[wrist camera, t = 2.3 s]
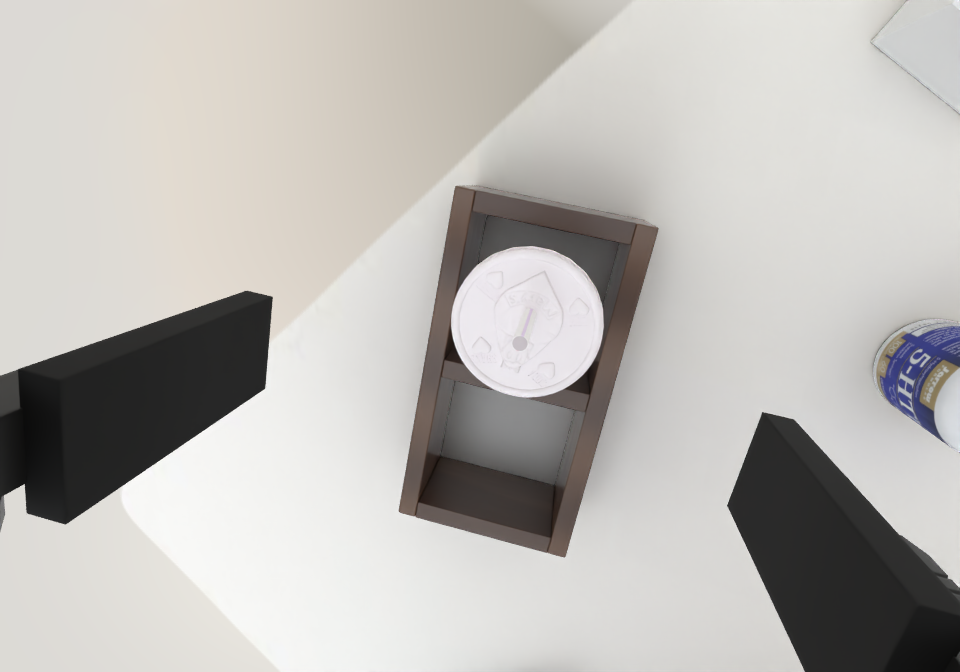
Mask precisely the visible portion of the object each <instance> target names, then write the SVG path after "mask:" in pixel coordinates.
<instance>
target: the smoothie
mask: <svg viewBox="0 0 960 672" xmlns="http://www.w3.org/2000/svg"><path fill="white" fill-rule="evenodd" d="M603 329H604V323H603V307H602V303H601V300H600V297H599V294H598V291H597V289H596V287H595V286H594V284H593V282H592V281H591V279H590V278H589V276H588V275H587V273H586V272H585V271H584V270H583V269H581V268H580V267H579V266H578V265H577V264H576V263H575V262H574V261H572V260H571V259H570V258H568V257H566V256H564V255H561V254H559V253H557V252H555V251H553V250H550V249H545V248H540V247H535V246H526V247H512V248H509V249H506V250H503V251H500V252H497V253H495V254H492V255H491V256H489V257H488V258H487V259H485V260H484V261H482V262H481V263H479V264H478V265H477V266H476V267H475V268H474V269H473V270H472V271H471V273H470V274H469V275H468V276H467V277H466V279H465V280H464V282H463V284H462V285H461V287H460V289H459V291H458V293H457V295H456V298H455V301H454V304H453V308H452V315H451V330H452V336H453V340H454V344H455V347H456V350H457V352H458V354H459V356H460V358H461V359H462V361H463V363H464V364H465V366H466V367H467V368H468V369H469V371H470V372H471V373H472V374H473V375H474V376H475V377H476V378H477V379H479V380H480V381H481V382H483V383H484V384H486V385H487V386H489V387H490V388H492V389H494V390H496V391H499V392H501V393H504V394H508V395H512V396H517V397H540V396H546V395H549V394H553V393H556V392H558V391H560V390H563V389H565V388H566V387H568V386H570V385H571V384H573V383H574V382H575V381H577V380H578V379H579V378H580V377H581V376H582V375H583V374H584V373H585V372H586V371H587V370H588V368H589V367H590V366H591V364H592V363H593V361H594V359H595V357H596V355H597V353H598V351H599V348H600V345H601V341H602V335H603Z"/></svg>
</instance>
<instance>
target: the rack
mask: <svg viewBox="0 0 960 672" xmlns="http://www.w3.org/2000/svg"><path fill="white" fill-rule="evenodd" d="M487 215H491V216H496V217H501V218H505V219H510V220H515V221H519V222H524V223H529V224H534V225H538V226H543V227H548V228H553V229H557V230H562V231H567V232H571V233H576V234H581V235H586V236H590V237H595V238H600V239H605V240H609V241H614V242H619V246H618V249H617V253H616V257H615V261H614V264H613V268H612V272H611V276H610V279H609V283H608V287H607V291H606V295H605V298H604V302H603V306H602V307H603V323H604V329H603V335H602V341H601V345H600V348H599V351H598V353H597V355H596V357H595V359H594V361H593V363H592V364H591V366H590V367H589V368H588V370H587V371H586V372H585V373H584V374H583V375H582V376H581V377H580V378H579V379H578V380H577V381H575V382H574V383H573V384H571V385H570V386H568V387H566V388H565V389H563V390H560V391H558V392H556V393H553V394H549V395H546V396H540V397H524V398H528V399H532V400H537V401H541V402H545V403H549V404H553V405H557V406H561V407H565V408H569V409H573V410H575V411H574V415H573V419H572V423H571V426H570V430H569V434H568V438H567V441H566V445H565V449H564V453H563V457H562V460H561V464H560V468H559V472H558V475H557V479H556V483H555V487H554V485H550V484H546V483H542V482H538V481H534V480H531V479H527V478H523V477H519V476H515V475H511V474H507V473H504V472H500V471H496V470H492V469H488V468H484V467H480V466H477V465H473V464H469V463H465V462H461V461H457V460H453V459H450V458H446V457H442V456H441V450H442V445H443V440H444V435H445V430H446V425H447V419H448V414H449V409H450V404H451V399H452V394H453V388H454V383H455V381H459V382H463V383H467V384H471V385H475V386H479V387H483V388H487V389H491V390H494V389H492V388H490V387H489V386H487V385H486V384H484V383H483V382H481V381H480V380H479V379H477V378H476V377H475V376H474V375H473V374H472V373H471V372H470V371H469V369H468V368H467V367H466V366H465V364H464V363H463V361H462V359H461V358H460V356H459V354H458V352H457V350H456V347H455V344H454V340H453V336H452V330H451V315H452V308H453V304H454V301H455V298H456V295H457V293H458V291H459V289H460V287H461V285H462V284H463V282H464V280H465V279H466V277H467V276H468V275H469V274H470V273H471V271H472V270H473V269H474V268H475V267H476V266H477V264H478V259H479V254H480V249H481V243H482V238H483V233H484V228H485V223H486V217H487ZM657 233H658V228H657V227H656V226H654V225H652V224H650V223H648V222H646V221H644V220H641V219H636V218H631V217H626V216H622V215H617V214H612V213H607V212H602V211H598V210H593V209H588V208H583V207H578V206H573V205H568V204H564V203H559V202H554V201H549V200H544V199H539V198H535V197H530V196H525V195H520V194H515V193H510V192H505V191H501V190H496V189H490V188H486V187H481V186H456V187H455V190H454V196H453V202H452V207H451V213H450V219H449V225H448V230H447V236H446V242H445V248H444V253H443V259H442V265H441V271H440V276H439V282H438V288H437V294H436V299H435V305H434V311H433V317H432V322H431V328H430V334H429V340H428V345H427V351H426V357H425V363H424V368H423V374H422V380H421V386H420V391H419V397H418V403H417V409H416V414H415V420H414V426H413V431H412V437H411V443H410V449H409V454H408V460H407V466H406V472H405V477H404V483H403V489H402V495H401V500H400V506H399V512H400V513H403V514H407V515H411V516H415V515H416V517H417V518H421V519H424V520H428V521H432V522H435V523H439V524H443V525H446V526H450V527H454V528H457V529H461V530H465V531H469V532H472V533H476V534H480V535H483V536H487V537H491V538H494V539H498V540H502V541H505V542H509V543H513V544H516V545H520V546H524V547H527V548H531V549H535V550H538V551H542V552H546V553H547V552H548V553H550V554H553V555H557V556H561V557H566V553H567V550H568V546H569V543H570V539H571V535H572V532H573V528H574V525H575V521H576V518H577V514H578V511H579V507H580V504H581V500H582V497H583V493H584V490H585V486H586V483H587V479H588V476H589V472H590V469H591V465H592V462H593V458H594V454H595V451H596V447H597V444H598V440H599V437H600V433H601V430H602V426H603V423H604V419H605V416H606V412H607V409H608V405H609V402H610V398H611V395H612V391H613V388H614V384H615V381H616V377H617V373H618V370H619V366H620V363H621V359H622V356H623V352H624V349H625V345H626V342H627V338H628V335H629V331H630V328H631V324H632V321H633V317H634V314H635V310H636V307H637V303H638V300H639V296H640V292H641V289H642V285H643V282H644V278H645V275H646V271H647V268H648V264H649V261H650V257H651V254H652V250H653V247H654V243H655V240H656V236H657ZM440 456H441V457H440Z"/></svg>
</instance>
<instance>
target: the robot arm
mask: <svg viewBox="0 0 960 672" xmlns="http://www.w3.org/2000/svg"><path fill="white" fill-rule="evenodd" d="M272 299H273V297H271V296H267V295H263V294H258V293H254V292H250V291H244V292H242V293H239V294H236V295H233V296H230V297H227V298H224V299H221V300H218V301H215V302H212V303H209V304H207V305H204V306H201V307H198V308H195V309H192V310H189V311H186V312H183V313H180V314H178V315H175V316H172V317H169V318H166V319H163V320H160V321H157V322H154V323H151V324H149V325H146V326H143V327H140V328H137V329H134V330H131V331H128V332H125V333H122V334H119V335H117V336H114V337H111V338H108V339H105V340H102V341H99V342H96V343H93V344H90V345H88V346H85V347H82V348H79V349H76V350H73V351H70V352H67V353H64V354H61V355H58V356H55V357H53V358H50V359H47V360H44V361H41V362H38V363H35V364H32V365H30V366H26V367H24V368H21V369H18V370H16V371H13V372H10V373H7V374H4V375H2V376H0V530H1V526H2V523H3V520H4V516H5V509H4V495H5V494H7V493H9V492H11V491H13V490H14V489H16V488H18V487H20V486H22V485H23V484H25V493H26V510H27V513H28V514H31V515H35V516H38V517H41V518H45V519H48V520H52V521H55V522H59V523H62V524H67V523H69V522H70V521H72V520H73V519H74V518H76V517H77V516H79V515H80V514H82V513H83V512H85V511H86V510H88V509H89V508H91V507H92V506H93V505H95V504H96V503H98V502H99V501H101V500H102V499H104V498H105V497H107V496H108V495H110V494H111V493H113V492H114V491H116V490H117V489H118V488H120V487H121V486H123V485H124V484H126V483H127V482H129V481H130V480H132V479H133V478H135V477H136V476H138V475H139V474H141V473H142V472H143V471H145V470H146V469H148V468H149V467H151V466H152V465H154V464H155V463H157V462H158V461H160V460H161V459H163V458H164V457H165V456H167V455H168V454H170V453H171V452H173V451H174V450H176V449H177V448H179V447H180V446H182V445H183V444H185V443H186V442H187V441H189V440H190V439H192V438H193V437H195V436H196V435H198V434H199V433H201V432H202V431H204V430H205V429H207V428H208V427H209V426H211V425H212V424H214V423H215V422H217V421H218V420H220V419H221V418H223V417H224V416H226V415H227V414H229V413H230V412H231V411H233V410H234V409H236V408H237V407H239V406H240V405H242V404H243V403H245V402H246V401H248V400H249V399H251V398H252V397H253V396H255V395H256V394H258V393H259V392H261V391H262V390H264V389H265V384H266V372H267V360H268V348H269V335H270V323H271V310H272ZM727 506H728V508H729V510H730V512H731V515H732V517H733V519H734V521H735V523H736V525H737V527H738V530H739V532H740V534H741V536H742V538H743V540H744V542H745V544H746V547H747V549H748V551H749V553H750V555H751V557H752V559H753V562H754V564H755V566H756V568H757V570H758V572H759V574H760V576H761V579H762V581H763V583H764V585H765V587H766V589H767V591H768V594H769V596H770V598H771V600H772V602H773V604H774V606H775V609H776V611H777V613H778V615H779V617H780V619H781V621H782V623H783V626H784V628H785V630H786V632H787V634H788V636H789V638H790V641H791V643H792V645H793V647H794V649H795V651H796V653H797V656H798V658H799V660H800V662H801V664H802V666H803V668H804V670H805V672H960V588H959V587H958V586H957V585H956V584H955V583H954V582H953V581H952V580H950V579H948V575H947V574H946V573H945V572H944V571H943V570H942V569H941V568H940V567H939V566H938V565H937V564H936V563H935V562H934V560H933V559H932V558H931V557H930V556H929V555H927V554H926V553H925V552H923V551H922V550H921V549H919V548H918V547H916V546H915V545H914V544H912V543H911V542H910V541H908V540H907V539H906V538H904V537H903V536H901V535H899V534H898V533H897V532H896V531H895V530H894V529H893V528H892V527H891V525H890V524H889V523H888V522H887V521H886V520H885V519H884V518H883V517H882V516H881V514H880V513H879V512H878V511H877V510H876V509H875V508H874V507H873V506H872V505H871V503H870V502H869V501H868V500H867V499H866V498H865V497H864V496H863V495H862V494H861V492H860V491H859V490H858V489H857V488H856V487H855V486H854V485H853V484H852V483H851V482H850V480H849V479H848V478H847V477H846V476H845V475H844V474H843V473H842V472H841V471H840V469H839V468H838V467H837V466H836V465H835V464H834V463H833V462H832V461H831V460H830V458H829V457H828V456H827V455H826V454H825V453H824V452H823V451H822V450H821V449H820V448H819V446H818V445H817V444H816V443H815V442H814V441H813V440H812V439H811V438H810V437H809V435H808V434H807V433H806V432H805V431H804V430H803V429H802V428H801V427H800V426H799V424H798V423H797V422H796V421H795V420H794V419H790V418H785V417H781V416H777V415H773V414H768V413H764V412H762V415H761V418H760V420H759V423H758V426H757V428H756V431H755V434H754V436H753V439H752V441H751V444H750V447H749V449H748V452H747V455H746V457H745V460H744V463H743V465H742V468H741V471H740V473H739V476H738V479H737V481H736V484H735V486H734V489H733V492H732V494H731V497H730V500H729V502H728V505H727Z"/></svg>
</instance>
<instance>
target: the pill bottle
mask: <svg viewBox="0 0 960 672" xmlns="http://www.w3.org/2000/svg"><path fill="white" fill-rule="evenodd" d="M873 376H874V381H875V384H876V387H877V389H878V391H879V392H880V394H881V395H882V396H883V397H884V399H886V400H887V401H888V402H889V403H890V404H892V405H893V406H894V407H896V408H897V409H898V410H900V411H901V412H902V413H904V414H905V415H907V416H908V417H910V418H911V419H912V420H914V421H915V422H917V423H918V424H919V425H921V426H922V427H923V428H924V429H926V430H927V431H929V432H930V433H932V434H933V435H935V436H936V437H937V438H939V439H940V440H941V441H943V442H944V443H946V444H947V445H948V446H950V447H951V448H952V449H954V450H956V451H957V452H959V453H960V323H958V322H955V321H951V320H945V319H928V320H922V321H918V322H915V323H912V324H909V325H907V326H905V327H903V328H901V329H900V330H898V331H896V332H895V333H894V334H892V335H891V336H890V337H889V338H888V339H887V340H886V341H885V342H884V344H883V345H882V346H881V348H880V349H879V351H878V353H877V356H876V358H875V362H874V367H873Z"/></svg>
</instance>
